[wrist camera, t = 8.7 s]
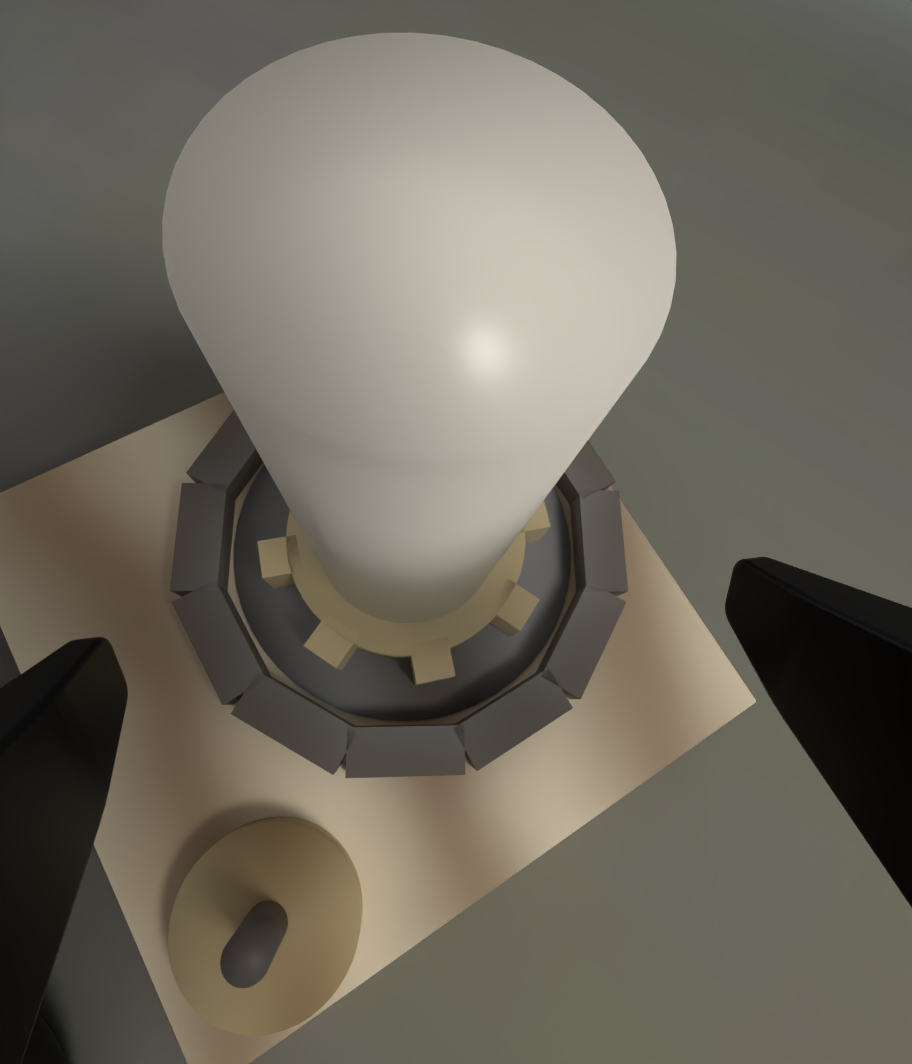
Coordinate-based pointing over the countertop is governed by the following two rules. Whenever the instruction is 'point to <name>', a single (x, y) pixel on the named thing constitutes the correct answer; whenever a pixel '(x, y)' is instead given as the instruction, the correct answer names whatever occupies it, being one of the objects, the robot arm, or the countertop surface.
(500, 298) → the gear spindle
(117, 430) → the countertop surface
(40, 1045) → the mug
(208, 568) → the gear board
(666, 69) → the countertop surface
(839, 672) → the robot arm
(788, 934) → the countertop surface
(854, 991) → the countertop surface
